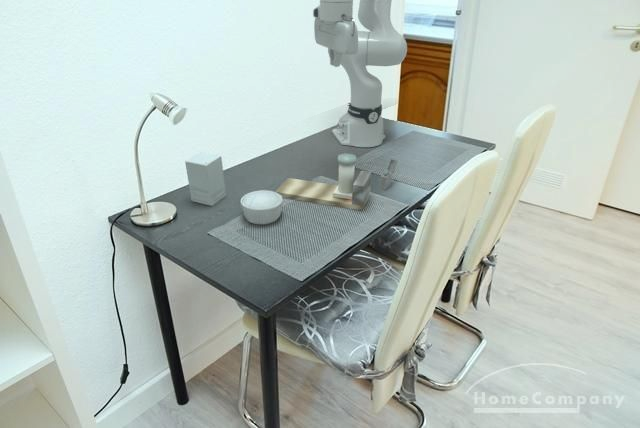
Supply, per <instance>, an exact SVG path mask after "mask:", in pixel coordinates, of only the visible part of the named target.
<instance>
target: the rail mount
mask: <svg viewBox="0 0 640 428" xmlns="http://www.w3.org/2000/svg"><path fill="white" fill-rule="evenodd" d="M371 183H372V171H369V170H360V172H359V174H358V175H357V177H356V178H355V179H354V184H353V191H352V200H350V199H344V198H337V197H333V192H334V190H335V189H336V187H337V186H338V184H330V183H323V182H317V181H310V180H304V179H297V178H292V177H287V178H286V180H285V181H283V183H282V184H281V185H280V186H279V188H277V189H276V191H275V192H276V193H278V194H280V195H281V196H282V198H283V199H288V198H290V199H289V200H294V199H296V201H300V200H301V201H302V202H308V203H314V204H320V205H324V206H325V205H326V206H331V207H338V208H344V209H351V210H354V211H355V210H356V211H363V209H365V205H366V203H367V202H368V200H369V198H370V196H371V186H372V184H371ZM301 201H300V202H301Z"/></svg>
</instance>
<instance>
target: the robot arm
mask: <svg viewBox="0 0 640 428" xmlns="http://www.w3.org/2000/svg"><path fill="white" fill-rule="evenodd" d="M353 7H354V0H319V5H317V6H316V7H315V8H313V9H312V16H313V18H314V21H313V23H314V24H313V26H314V27H313V30H314V40H315V42H316V44H317V45H319V46H322V47H324V48H327V53H328V58H329V64H330V66H332V67H335V68H337V67H338V68H339V67H340V66H342V67H343V69H344V70H345V73H346V74H347V76H348V80H349V85H350V102H348V103H347V107H348V108H347V112H346V113H345V114H344V115H342V116H341V117H340V118H339V119H338V122H337V127H336V128H333V129H332V130H331V133H332V134H333V136H334V137H335V139H337V141H338V142H339V143H340V144H341V145H342V146H352V147H356V148H374V147H377V146H380V145H382V143H383V141H384V140H385V139H386V135H385V134H384V118H383V117H382V111H383V105H382V95H383V84H382V81H381V80H380V79H379V78H378V77H377V76H375V75H373V74H371V73H370V72H369V71H368V69H367V66H370V67H371V66H374V67H391V66H398V65H401V63H403V61H404V60H405V58H406V56H407V52H408V44H407V41H406V39H405V37H404V36H403V35H402V34H400V33H399V32H398V31H397V30H396V29H395V27H394V26H393V24H392V21H391V7H392V0H359V5H358V11H357V18H358V21H359V23H360V25H362V27H363V28H364V29H366V30H368V31H366V30H365V31H362V30H359V29H358V26H357V24H356V21H355V20H354V18H353V14H354V13H353V12H354V11H353ZM358 30H359V31H358Z"/></svg>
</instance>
